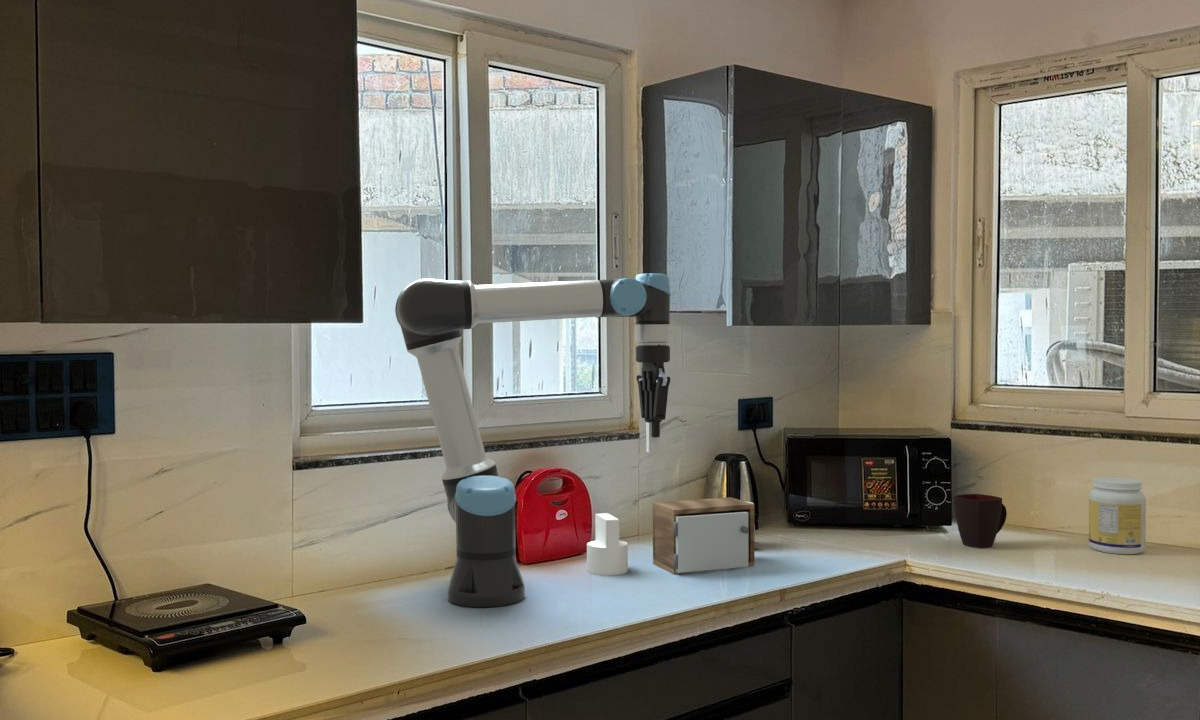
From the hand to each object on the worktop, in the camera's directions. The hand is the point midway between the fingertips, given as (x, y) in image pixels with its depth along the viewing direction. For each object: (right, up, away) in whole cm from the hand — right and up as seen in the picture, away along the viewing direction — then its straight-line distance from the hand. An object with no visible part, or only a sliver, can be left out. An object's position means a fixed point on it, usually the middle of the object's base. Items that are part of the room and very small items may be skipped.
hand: (653, 451), depth 220 cm
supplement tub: (+112, -26, +21) cm, 117 cm away
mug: (+83, -26, +28) cm, 91 cm away
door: (+13, -26, -1) cm, 29 cm away
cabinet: (+12, -26, +7) cm, 29 cm away
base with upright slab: (-10, -27, +2) cm, 29 cm away
